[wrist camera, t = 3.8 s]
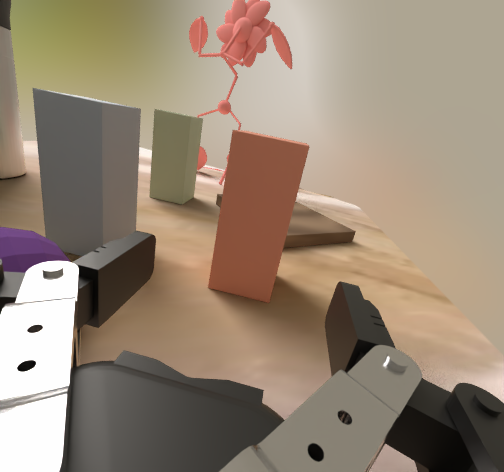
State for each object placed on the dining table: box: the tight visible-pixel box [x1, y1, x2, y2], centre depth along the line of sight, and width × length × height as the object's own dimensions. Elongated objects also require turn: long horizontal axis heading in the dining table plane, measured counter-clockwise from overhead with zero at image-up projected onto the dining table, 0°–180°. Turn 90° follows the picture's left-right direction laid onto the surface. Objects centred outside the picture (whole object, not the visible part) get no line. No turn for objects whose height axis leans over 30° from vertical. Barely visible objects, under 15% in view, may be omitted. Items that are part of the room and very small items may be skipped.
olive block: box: [150, 109, 203, 204], centre depth 41 cm, size 5×5×12 cm
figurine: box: [189, 0, 292, 184], centre depth 59 cm, size 15×26×35 cm, turn 58°
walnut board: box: [216, 194, 356, 248], centre depth 42 cm, size 16×14×2 cm
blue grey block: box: [33, 88, 141, 256], centre depth 23 cm, size 5×5×12 cm
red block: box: [208, 130, 309, 303], centre depth 22 cm, size 5×5×12 cm
